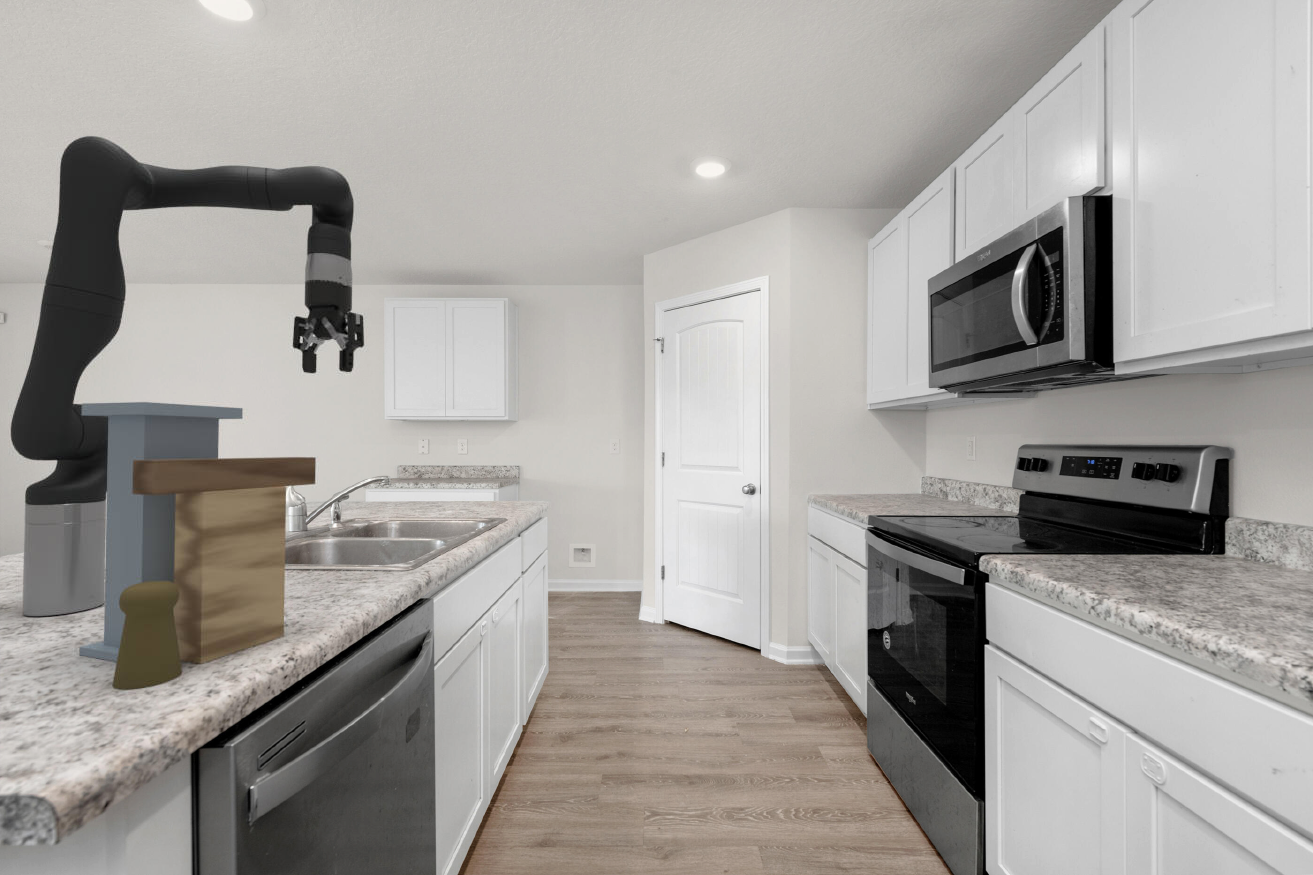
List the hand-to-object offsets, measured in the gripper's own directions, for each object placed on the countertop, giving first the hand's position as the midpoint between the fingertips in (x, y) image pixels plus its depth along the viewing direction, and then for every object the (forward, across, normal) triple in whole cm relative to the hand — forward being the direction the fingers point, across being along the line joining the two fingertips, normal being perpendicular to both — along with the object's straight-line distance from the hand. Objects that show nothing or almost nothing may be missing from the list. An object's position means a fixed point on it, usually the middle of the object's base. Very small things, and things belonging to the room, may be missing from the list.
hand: (327, 372), depth 106 cm
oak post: (+40, +12, -26) cm, 49 cm away
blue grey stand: (+40, +3, -28) cm, 49 cm away
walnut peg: (+19, +12, -25) cm, 34 cm away
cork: (+40, +14, -36) cm, 56 cm away
